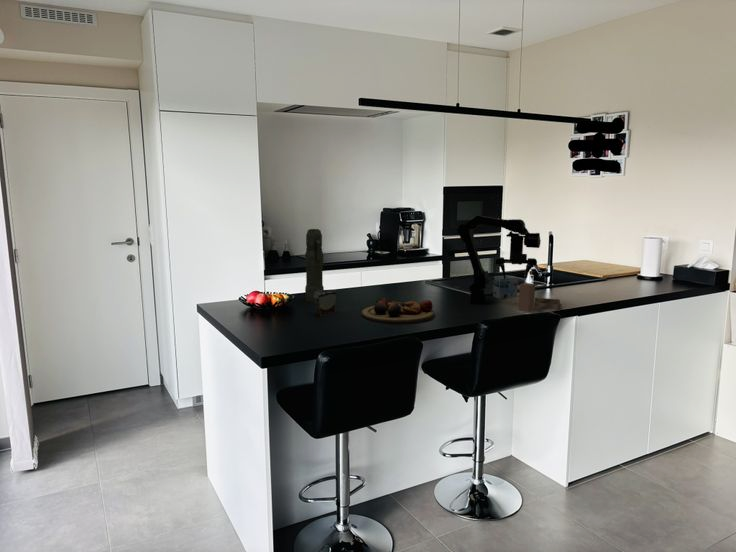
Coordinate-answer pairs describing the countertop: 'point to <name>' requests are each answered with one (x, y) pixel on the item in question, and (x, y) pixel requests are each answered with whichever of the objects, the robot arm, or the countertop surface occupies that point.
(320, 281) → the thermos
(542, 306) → the sleeve
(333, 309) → the food container
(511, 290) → the light bulb box
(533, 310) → the trivet
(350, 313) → the countertop surface
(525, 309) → the block
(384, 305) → the wooden plate with food
